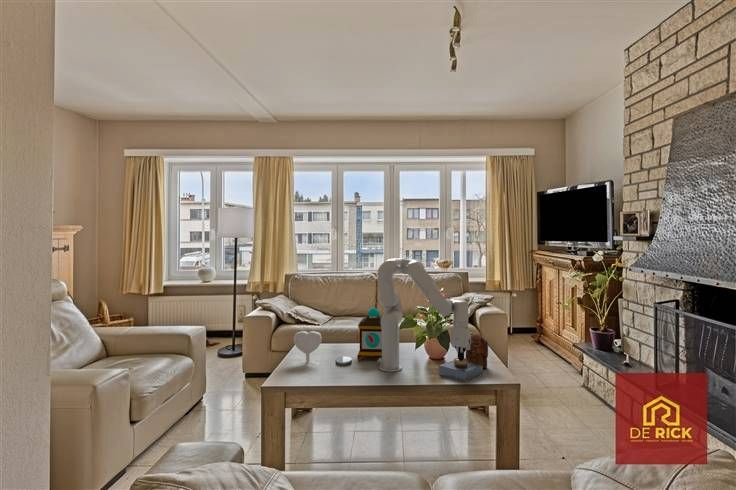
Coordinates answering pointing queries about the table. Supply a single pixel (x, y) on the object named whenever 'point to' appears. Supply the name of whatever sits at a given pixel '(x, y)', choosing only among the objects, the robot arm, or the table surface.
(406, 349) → the table surface
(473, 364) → the block
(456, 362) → the bushing
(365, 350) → the decorative lantern
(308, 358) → the heart sculpture
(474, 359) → the wooden figurine
